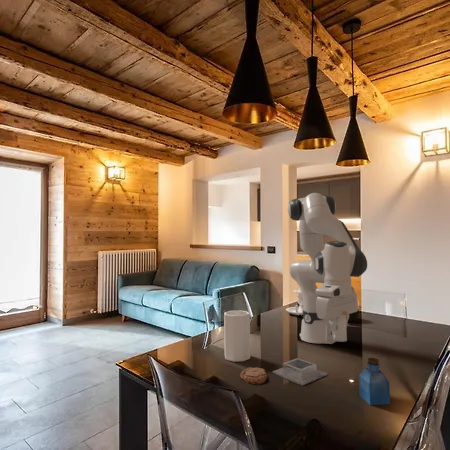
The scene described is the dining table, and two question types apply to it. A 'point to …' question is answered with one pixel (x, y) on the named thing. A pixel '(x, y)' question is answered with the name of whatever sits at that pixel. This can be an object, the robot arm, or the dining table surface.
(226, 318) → the cup
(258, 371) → the cookie
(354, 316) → the squash
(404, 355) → the dining table surface
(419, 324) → the dining table surface
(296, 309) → the candlestick
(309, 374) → the duct collar
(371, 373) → the perfume bottle
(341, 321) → the white lidded jar
